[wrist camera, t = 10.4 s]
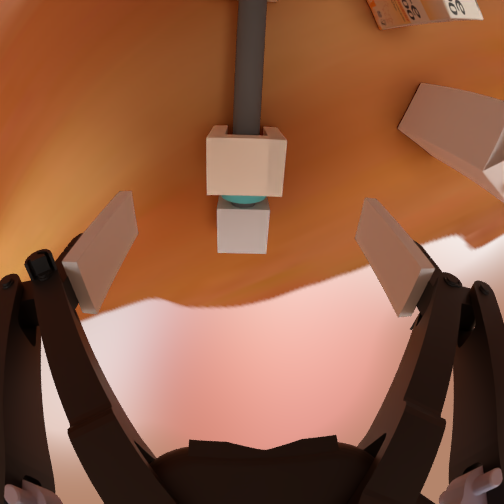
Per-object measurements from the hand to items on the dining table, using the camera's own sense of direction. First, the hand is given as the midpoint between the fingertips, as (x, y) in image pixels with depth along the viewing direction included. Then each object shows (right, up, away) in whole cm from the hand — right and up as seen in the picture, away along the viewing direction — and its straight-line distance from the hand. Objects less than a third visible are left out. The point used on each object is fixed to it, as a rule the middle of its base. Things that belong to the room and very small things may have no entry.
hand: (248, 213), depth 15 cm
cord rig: (0, +14, +11) cm, 17 cm away
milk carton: (+22, +14, +11) cm, 28 cm away
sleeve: (-1, +9, +13) cm, 15 cm away
